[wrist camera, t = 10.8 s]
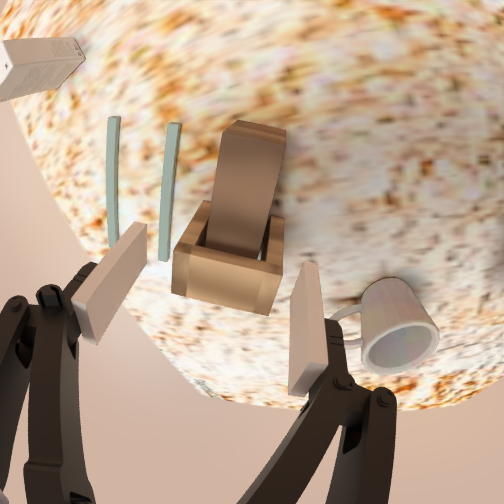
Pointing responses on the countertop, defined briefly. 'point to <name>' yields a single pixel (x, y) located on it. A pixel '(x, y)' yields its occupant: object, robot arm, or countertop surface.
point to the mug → (391, 328)
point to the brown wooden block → (244, 187)
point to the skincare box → (36, 65)
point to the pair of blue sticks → (166, 189)
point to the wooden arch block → (227, 268)
